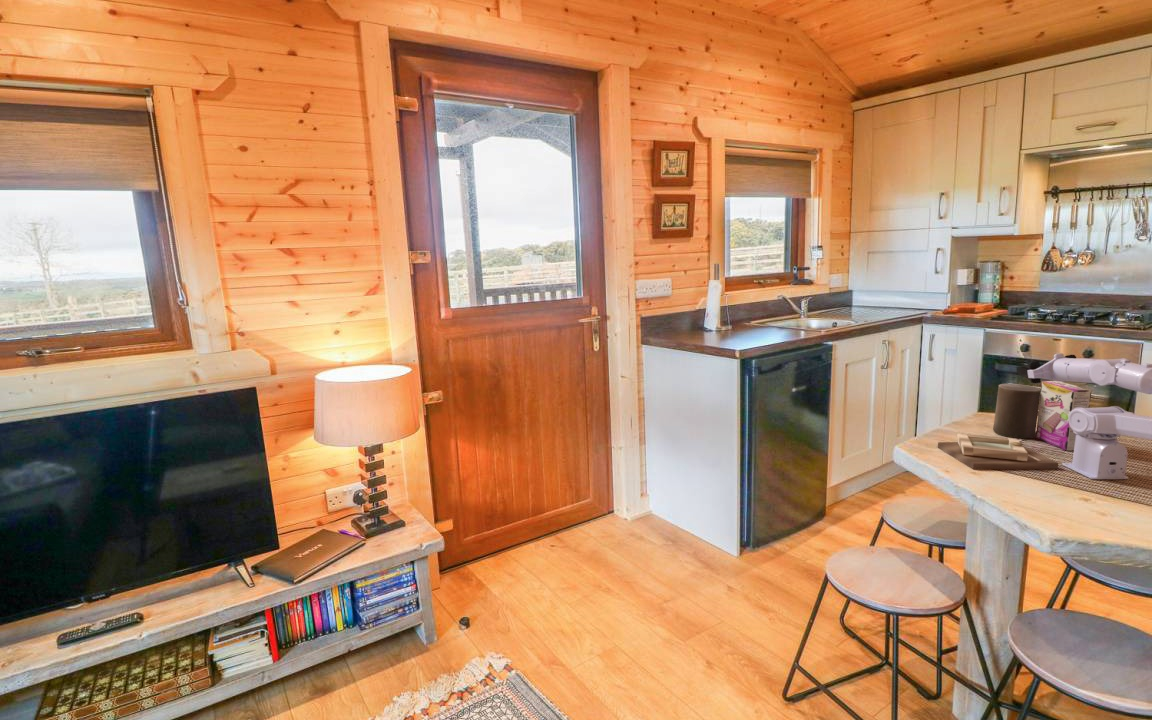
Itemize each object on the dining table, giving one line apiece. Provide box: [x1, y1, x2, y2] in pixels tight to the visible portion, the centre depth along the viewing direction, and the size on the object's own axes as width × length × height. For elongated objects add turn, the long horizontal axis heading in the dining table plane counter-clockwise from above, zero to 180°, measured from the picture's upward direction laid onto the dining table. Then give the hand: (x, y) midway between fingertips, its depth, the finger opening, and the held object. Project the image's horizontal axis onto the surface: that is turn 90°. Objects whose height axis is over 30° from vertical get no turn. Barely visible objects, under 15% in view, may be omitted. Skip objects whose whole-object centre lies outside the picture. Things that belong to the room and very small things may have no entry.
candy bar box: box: [1035, 380, 1093, 452], centre depth 156 cm, size 11×5×16 cm, turn 178°
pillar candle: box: [992, 382, 1041, 440], centre depth 166 cm, size 10×10×15 cm
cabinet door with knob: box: [956, 432, 1028, 461], centre depth 149 cm, size 12×13×2 cm
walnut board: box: [937, 441, 1059, 470], centre depth 149 cm, size 16×20×2 cm
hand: (1032, 368), depth 155 cm, fingers open, 7 cm apart
